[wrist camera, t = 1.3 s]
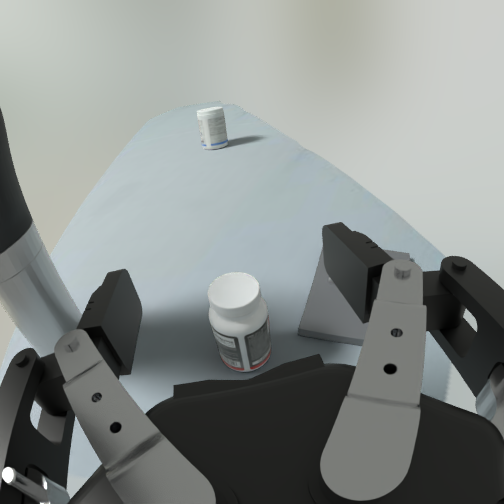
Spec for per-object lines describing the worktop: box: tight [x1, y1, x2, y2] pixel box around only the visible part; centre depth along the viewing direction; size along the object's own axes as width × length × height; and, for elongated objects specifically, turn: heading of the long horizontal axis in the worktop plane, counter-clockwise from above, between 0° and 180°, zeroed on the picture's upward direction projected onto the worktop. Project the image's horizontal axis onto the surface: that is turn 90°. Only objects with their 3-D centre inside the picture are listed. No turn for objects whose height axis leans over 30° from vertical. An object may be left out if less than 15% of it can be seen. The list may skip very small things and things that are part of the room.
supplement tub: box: [197, 107, 228, 150], centre depth 98 cm, size 10×10×15 cm
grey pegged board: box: [298, 248, 410, 346], centre depth 36 cm, size 14×18×4 cm
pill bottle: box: [208, 272, 271, 372], centre depth 29 cm, size 6×6×10 cm
